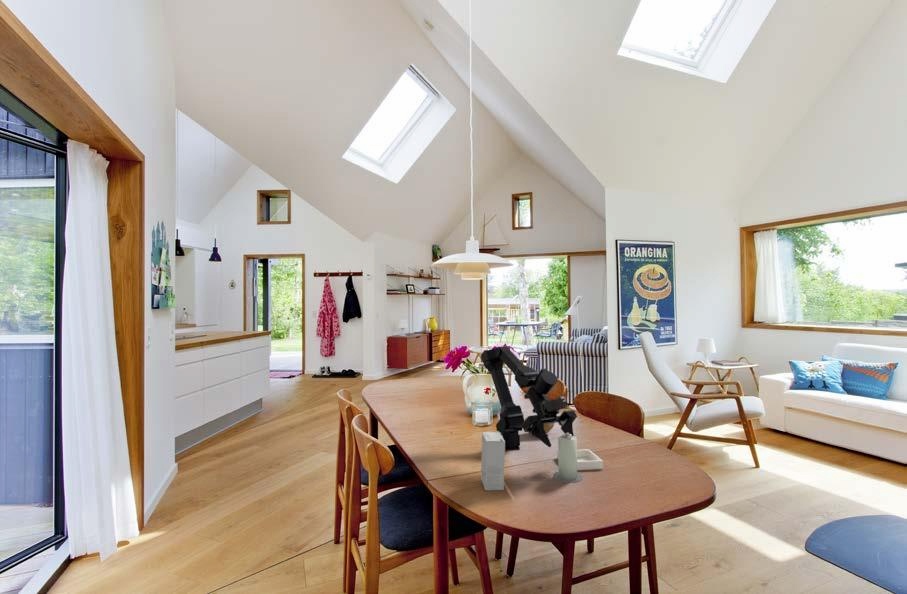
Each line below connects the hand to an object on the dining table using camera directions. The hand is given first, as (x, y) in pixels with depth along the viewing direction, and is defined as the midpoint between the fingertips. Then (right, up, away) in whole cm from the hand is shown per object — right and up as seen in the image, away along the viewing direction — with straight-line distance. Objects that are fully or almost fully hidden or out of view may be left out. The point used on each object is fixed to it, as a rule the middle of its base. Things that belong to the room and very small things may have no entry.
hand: (562, 444), depth 140 cm
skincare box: (-22, -10, -7) cm, 26 cm away
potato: (+1, -10, +43) cm, 44 cm away
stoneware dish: (+8, -10, +9) cm, 15 cm away
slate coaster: (+1, -10, -2) cm, 10 cm away
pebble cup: (+1, -9, -2) cm, 10 cm away
